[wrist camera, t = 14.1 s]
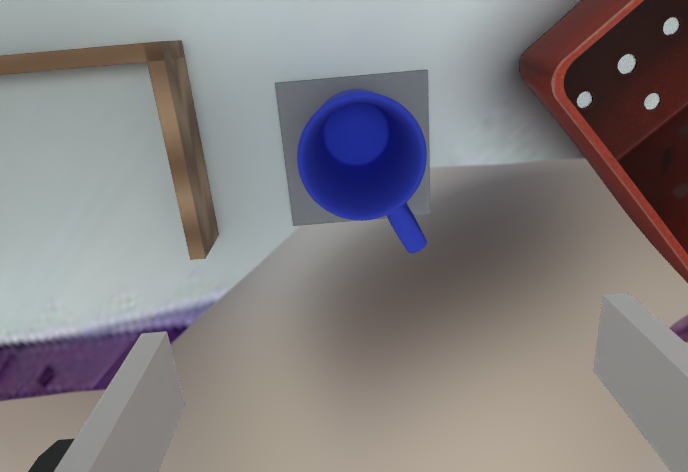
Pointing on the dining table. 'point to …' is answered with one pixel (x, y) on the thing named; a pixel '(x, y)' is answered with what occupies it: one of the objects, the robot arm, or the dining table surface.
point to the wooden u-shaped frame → (174, 120)
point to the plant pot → (624, 107)
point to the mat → (310, 95)
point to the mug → (365, 160)
